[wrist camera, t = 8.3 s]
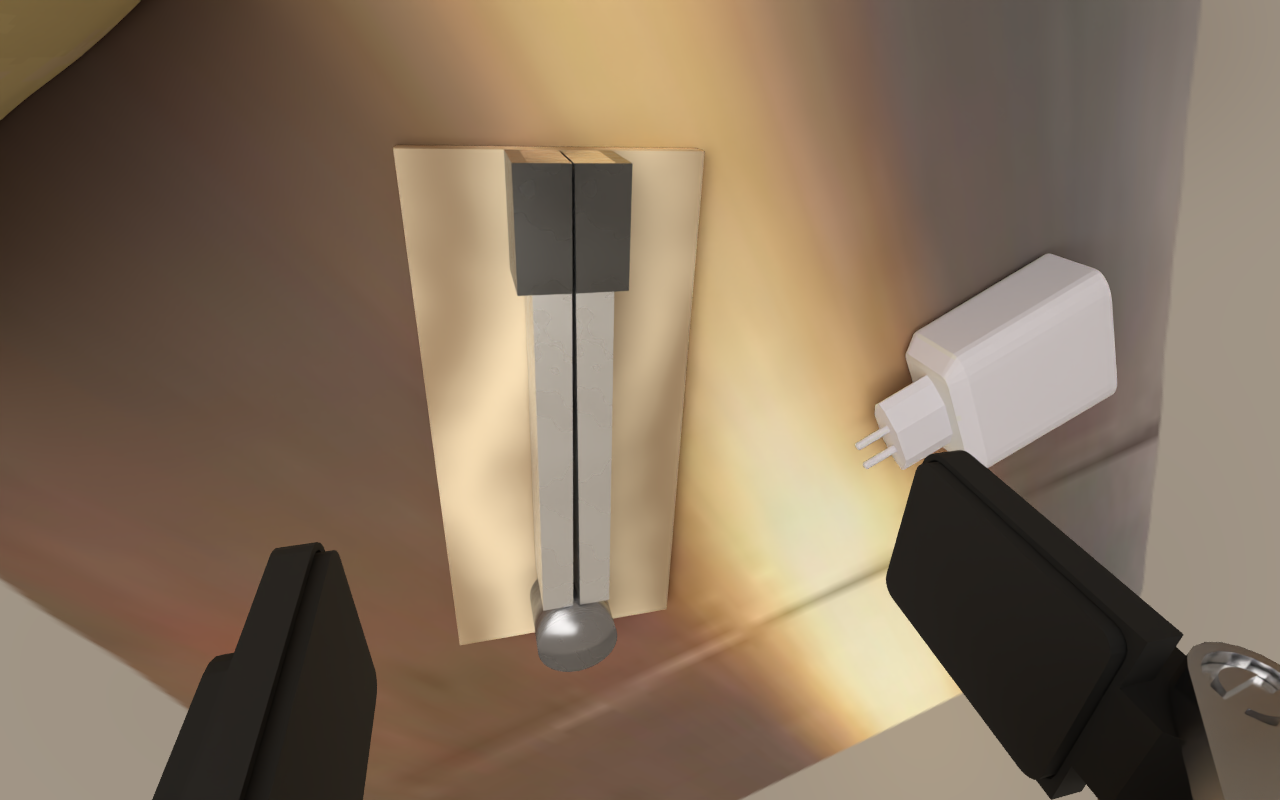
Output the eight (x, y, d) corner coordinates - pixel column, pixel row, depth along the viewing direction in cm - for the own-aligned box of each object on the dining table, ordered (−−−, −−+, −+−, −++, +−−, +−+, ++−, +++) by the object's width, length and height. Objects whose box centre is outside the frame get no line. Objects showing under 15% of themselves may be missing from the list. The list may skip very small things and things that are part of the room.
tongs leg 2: (606, 554, 38) (620, 599, 35) (569, 560, 37) (580, 606, 34) (611, 150, 27) (632, 163, 24) (560, 150, 26) (574, 163, 23)
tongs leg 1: (563, 561, 37) (573, 607, 34) (524, 567, 37) (532, 614, 33) (557, 150, 26) (572, 163, 23) (503, 149, 26) (511, 162, 23)
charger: (816, 381, 37) (1039, 248, 37) (858, 483, 42) (1055, 366, 42) (861, 422, 33) (1111, 273, 33) (901, 528, 38) (1119, 400, 38)
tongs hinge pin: (602, 558, 38) (617, 608, 34) (601, 611, 40) (616, 663, 37) (528, 569, 37) (536, 622, 33) (531, 623, 39) (539, 678, 36)
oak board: (697, 148, 29) (704, 151, 28) (662, 597, 42) (666, 609, 41) (395, 145, 26) (393, 148, 25) (459, 632, 39) (459, 645, 38)
